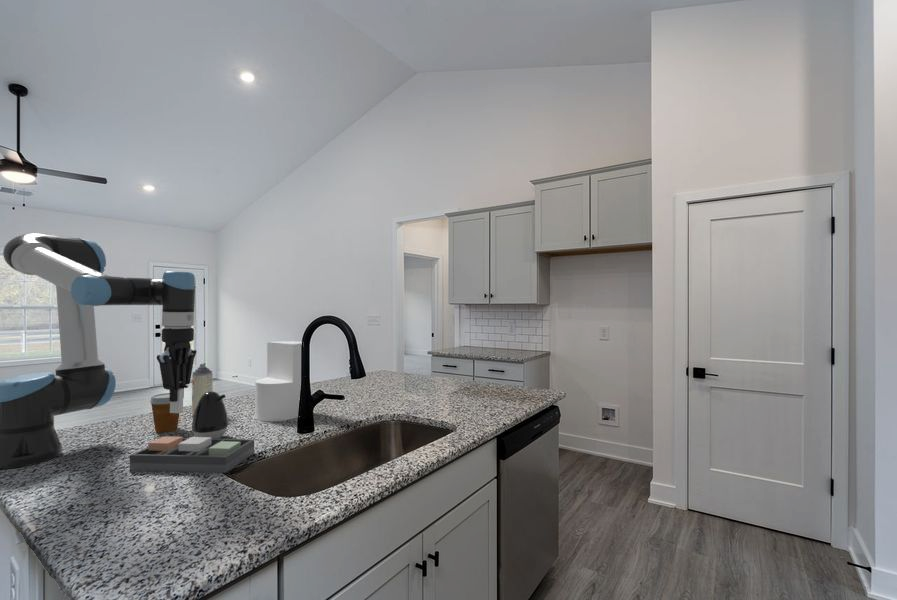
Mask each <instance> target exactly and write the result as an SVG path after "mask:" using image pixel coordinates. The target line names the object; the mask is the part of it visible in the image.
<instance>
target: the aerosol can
mask: <svg viewBox="0 0 897 600" xmlns="http://www.w3.org/2000/svg"><path fill="white" fill-rule="evenodd" d="M213 378H214V377H213V370H211V369H210V368H208V367H207V366H206V364H205V363H200V364H199V367H197V369H195V371H192V373H191V396H192V397H191V402H192V403H191V417H192V418H193V417H194V413H195V410H196V407H197V404H198V402H199V400H200V398H201V397H202V395H203V394H205V393H207V392H210V391H213V381H214V380H213Z"/></svg>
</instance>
